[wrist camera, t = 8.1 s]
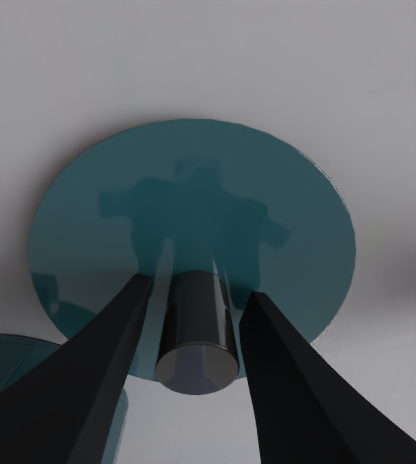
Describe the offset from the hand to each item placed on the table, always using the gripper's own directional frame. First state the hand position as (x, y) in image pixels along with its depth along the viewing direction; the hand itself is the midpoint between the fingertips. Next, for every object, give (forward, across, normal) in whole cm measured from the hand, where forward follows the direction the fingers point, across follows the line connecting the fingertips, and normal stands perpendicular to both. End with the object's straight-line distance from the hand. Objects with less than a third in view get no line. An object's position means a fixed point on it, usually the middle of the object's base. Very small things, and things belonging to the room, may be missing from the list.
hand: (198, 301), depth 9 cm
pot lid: (+1, 0, 0) cm, 1 cm away
